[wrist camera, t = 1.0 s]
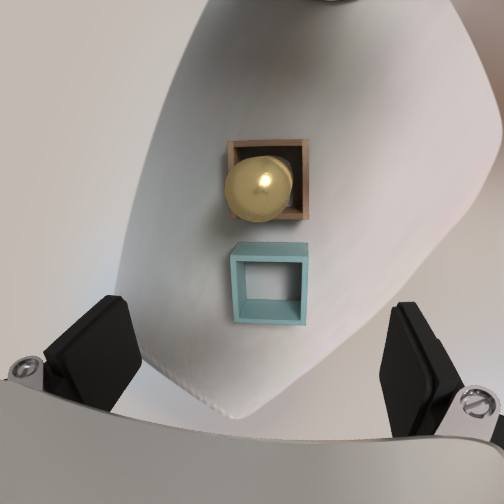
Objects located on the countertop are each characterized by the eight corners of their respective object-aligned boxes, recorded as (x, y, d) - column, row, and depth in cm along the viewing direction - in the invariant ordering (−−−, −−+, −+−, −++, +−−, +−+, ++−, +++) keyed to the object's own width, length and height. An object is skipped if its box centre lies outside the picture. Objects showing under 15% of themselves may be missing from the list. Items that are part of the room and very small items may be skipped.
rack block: (238, 241, 31) (229, 255, 27) (307, 242, 30) (308, 256, 26) (241, 303, 33) (234, 322, 29) (305, 305, 32) (305, 325, 28)
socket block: (234, 142, 28) (227, 141, 25) (307, 140, 27) (308, 139, 24) (237, 212, 30) (230, 219, 27) (308, 212, 29) (308, 219, 26)
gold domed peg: (249, 155, 28) (222, 158, 18) (293, 154, 27) (289, 156, 18) (250, 198, 29) (226, 222, 20) (294, 198, 28) (290, 222, 19)
